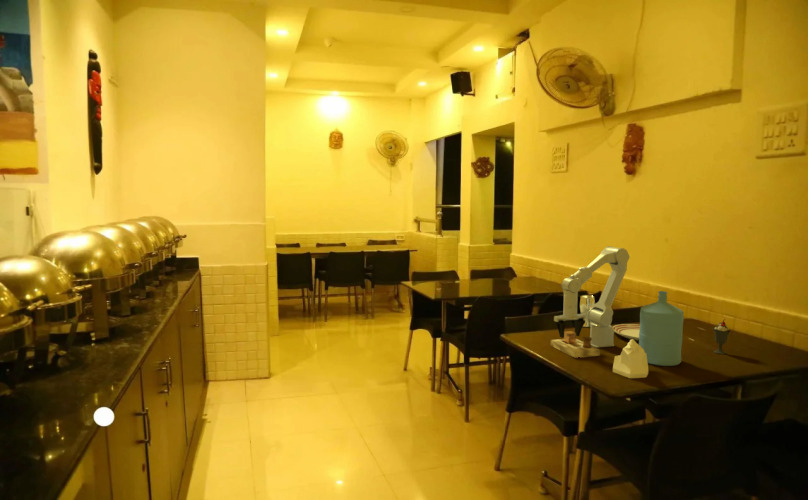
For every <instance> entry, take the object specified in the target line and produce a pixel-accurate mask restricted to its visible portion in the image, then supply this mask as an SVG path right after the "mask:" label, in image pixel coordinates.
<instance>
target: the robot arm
mask: <svg viewBox="0 0 808 500" xmlns="http://www.w3.org/2000/svg"><path fill="white" fill-rule="evenodd" d="M630 258H631V257H630V254H629V252H628V250H627V249H625V248H624V247H616V246H615V247H614V246H611V245H608V246H606V247H605V248H604V249H603V250H601V251H600V254H598V256H596V257H595V259H594V260H592V261H591V262H590V263H589V264H588V265H587V266H582V267H581V266H579V268H578V270H577V271H575V272H574V273H573V274H571V275H570V277H565V278H564V279H563V280H562V283H561V284H560V287H561V289H562V293H563V310H562V311H563V312H562V313H563V314H560V315H554V316H553V321H554V323H555V325H556V327H557V329H558V333H559V337H560V338H561V339H564V332H565V330H566V325H567V322H566V323H565V321H573V322H574V332H575V333H576V337H580V334H581V332H582V329H583V325H584V324H585V320H583V319H586V315H584V314H581V313H578V297H579V296H578V295H579V293H578V292H580V291H581V289H582V286H583V285H584V284H585V283H586V282H587V281H588V280H589V279H591V278H592V277H593V273H594V272H596V271H597V270H598V269H600V268H601V267H603V266H604V265H605V264H607V263H608V265H610V268H611V272H610V274H609V277H608V278H607V281H606V284H605V286H604V288H603V290H602V293H601V295H600V297H599V300H598V301H597V302H595V304H594V305H593V307H592V308H591V309H590V310H589V312H588V315H587V317H588V319H589V321H590V324H591V327H589V329H590V330H589V331H590V332H589V334H590V335H589V337H591V338H592V340H591V346H593V347H595V348H598V349H599V348H607V347H615V344H614V339H615V338H614V337H615V336H614V335H615V332H614V330H613V325H611V324H612V321H613V315H614V311H613V309H612V305H613V303H614V300H615V298H616V295H617V293H618V291H619V290H620V287H621V284H622V282H623V280H624V277H625V275H626V272H627V270H628V268H627V267H628V263H629V259H630Z"/></svg>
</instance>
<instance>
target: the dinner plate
mask: <svg viewBox="0 0 808 500" xmlns="http://www.w3.org/2000/svg"><path fill="white" fill-rule="evenodd" d="M612 327H613V330H614V333H616V334H617V335H620V337H623V338H625V339H628V340H632V339H634V341H635V342H639V331H640V323H639V324H636V323H621V324H615V325H612Z"/></svg>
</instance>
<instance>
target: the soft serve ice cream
mask: <svg viewBox="0 0 808 500" xmlns="http://www.w3.org/2000/svg"><path fill="white" fill-rule="evenodd" d="M612 373H614V374H616V375H620V376H621V377H625V378H628V379H641V378H643V379H644V378H647V377H648V375H649V363H648V362H647V355H646V353H645V352H644V349H643V348H642V347H641V346H640V345H639V343H637V341H635V340H634V339H632V340H631V339H629V342H627V345H626V346H624V347H623V348H622V350H621V353H620V355H614V359H613V365H612Z"/></svg>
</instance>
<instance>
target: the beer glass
mask: <svg viewBox="0 0 808 500" xmlns="http://www.w3.org/2000/svg"><path fill="white" fill-rule="evenodd" d="M594 304H596V302H595V296H593V295H588V294H583V295H580V301H579V310H580V314H584V315H586V319H583V320H585V324H584V325H583V327H584V328H591V324H590V321H589V319H588V317H587V315H588V312H589V310H590V309H591V308H592V307H593V305H594ZM583 327H582V328H583Z"/></svg>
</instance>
